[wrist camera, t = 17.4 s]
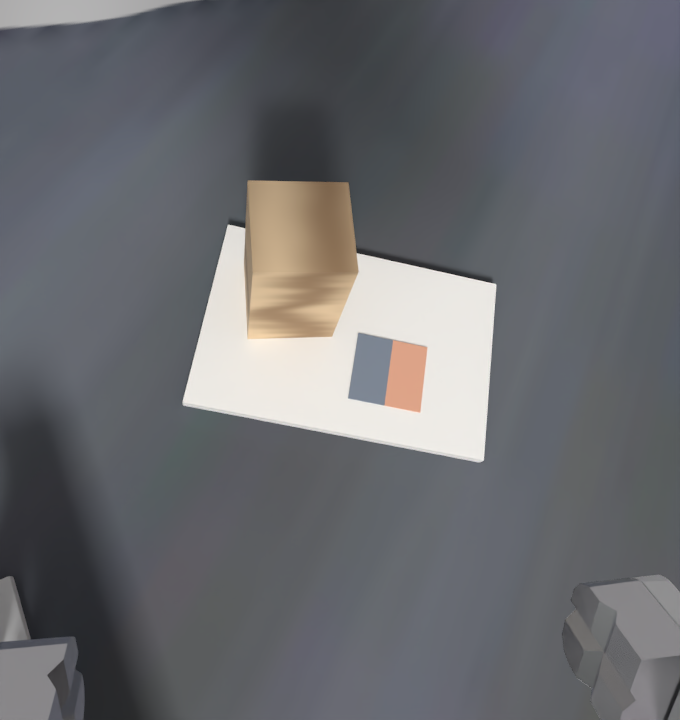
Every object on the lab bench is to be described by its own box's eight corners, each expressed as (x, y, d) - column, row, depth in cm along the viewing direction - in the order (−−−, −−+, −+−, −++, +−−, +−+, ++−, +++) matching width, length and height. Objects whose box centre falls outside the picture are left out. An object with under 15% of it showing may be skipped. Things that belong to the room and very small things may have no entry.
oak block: (247, 338, 44) (252, 272, 35) (243, 262, 46) (247, 180, 37) (332, 336, 45) (358, 271, 36) (324, 262, 47) (348, 182, 38)
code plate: (183, 405, 43) (182, 401, 42) (228, 230, 48) (228, 223, 47) (479, 462, 45) (484, 460, 44) (492, 288, 50) (496, 283, 49)
